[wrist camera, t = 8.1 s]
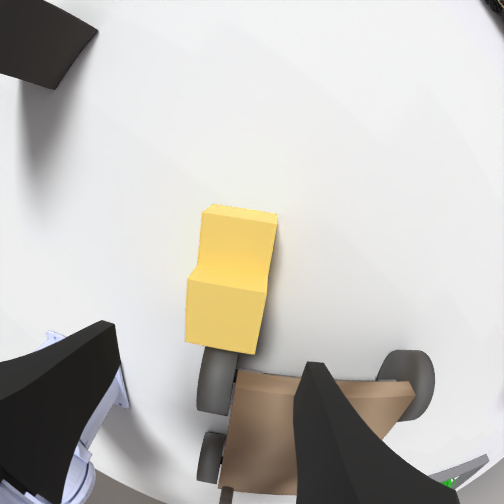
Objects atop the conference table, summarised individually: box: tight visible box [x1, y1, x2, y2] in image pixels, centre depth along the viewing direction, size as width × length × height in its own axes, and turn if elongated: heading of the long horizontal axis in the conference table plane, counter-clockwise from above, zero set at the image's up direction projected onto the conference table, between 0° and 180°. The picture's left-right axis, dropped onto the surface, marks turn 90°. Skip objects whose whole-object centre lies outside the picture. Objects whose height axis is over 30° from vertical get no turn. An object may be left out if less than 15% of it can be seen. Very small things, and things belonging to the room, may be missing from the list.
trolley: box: [197, 346, 435, 504], centre depth 16 cm, size 16×20×15 cm
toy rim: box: [428, 454, 489, 490], centre depth 32 cm, size 22×22×2 cm
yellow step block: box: [185, 204, 277, 355], centre depth 16 cm, size 4×7×5 cm, turn 171°
